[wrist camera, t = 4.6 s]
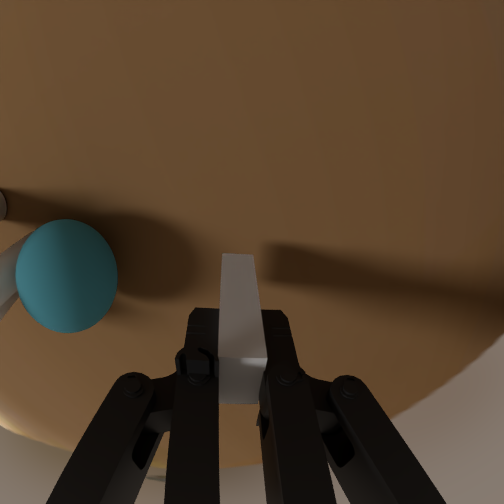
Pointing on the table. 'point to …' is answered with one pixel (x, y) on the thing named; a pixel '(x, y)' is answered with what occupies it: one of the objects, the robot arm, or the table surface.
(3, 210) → the pin
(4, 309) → the pin
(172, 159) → the table surface
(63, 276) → the ball
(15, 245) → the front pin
